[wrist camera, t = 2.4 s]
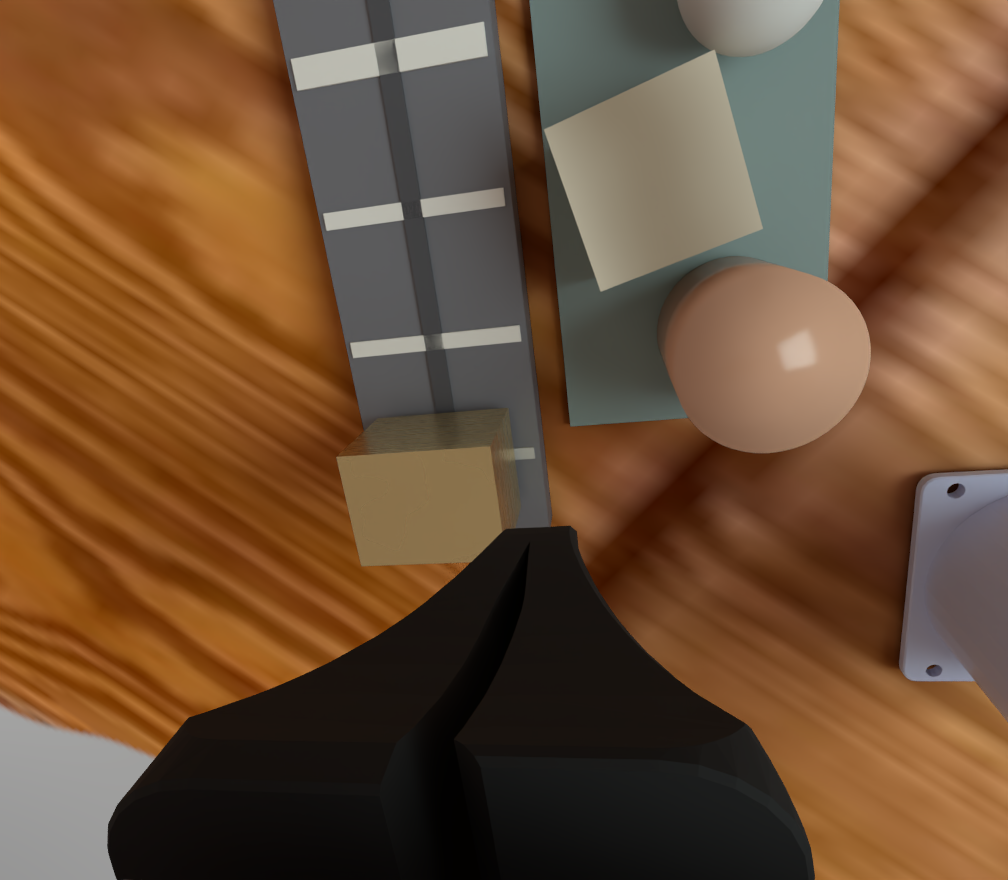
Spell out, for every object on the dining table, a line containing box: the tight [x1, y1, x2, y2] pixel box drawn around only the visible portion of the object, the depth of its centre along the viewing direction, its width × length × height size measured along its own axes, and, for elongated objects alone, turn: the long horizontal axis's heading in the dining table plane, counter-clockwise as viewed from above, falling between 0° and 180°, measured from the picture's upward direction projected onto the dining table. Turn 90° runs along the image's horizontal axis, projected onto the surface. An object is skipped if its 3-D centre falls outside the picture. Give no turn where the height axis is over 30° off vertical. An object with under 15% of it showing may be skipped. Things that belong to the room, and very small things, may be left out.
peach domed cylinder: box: [657, 256, 871, 453], centre depth 17 cm, size 4×4×5 cm
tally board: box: [273, 0, 552, 528], centre depth 20 cm, size 6×19×1 cm, turn 8°
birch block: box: [544, 49, 763, 291], centre depth 16 cm, size 4×4×4 cm
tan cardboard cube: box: [336, 408, 521, 566], centre depth 19 cm, size 4×4×4 cm
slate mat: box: [529, 0, 839, 427], centre depth 18 cm, size 8×14×1 cm, turn 8°
